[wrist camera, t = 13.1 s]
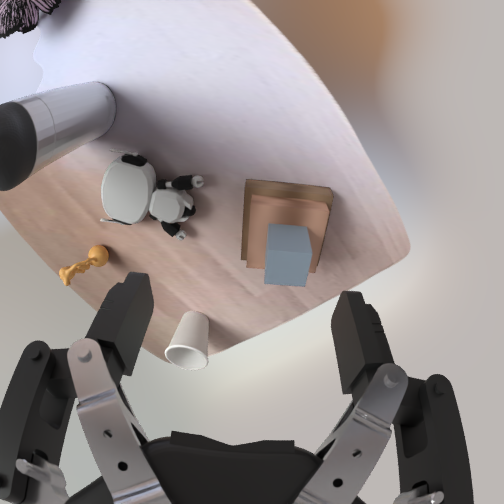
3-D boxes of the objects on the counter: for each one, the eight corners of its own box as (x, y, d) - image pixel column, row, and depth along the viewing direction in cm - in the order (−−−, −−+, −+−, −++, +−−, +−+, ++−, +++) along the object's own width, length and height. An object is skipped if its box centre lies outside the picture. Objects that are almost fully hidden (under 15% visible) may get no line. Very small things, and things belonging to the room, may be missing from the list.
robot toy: (210, 168, 40) (117, 140, 36) (206, 180, 36) (104, 149, 32) (188, 233, 46) (106, 208, 43) (183, 250, 43) (95, 222, 39)
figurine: (99, 265, 50) (71, 307, 41) (79, 244, 48) (47, 284, 38) (122, 247, 47) (93, 292, 38) (100, 223, 45) (66, 265, 35)
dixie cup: (210, 336, 60) (203, 374, 52) (174, 325, 59) (163, 363, 51) (219, 313, 56) (212, 354, 47) (179, 301, 54) (166, 341, 46)
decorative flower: (56, -22, 13) (-29, 47, 12) (85, 15, 24) (11, 66, 24) (57, -62, 9) (-19, -6, 8) (78, -29, 20) (11, 16, 20)
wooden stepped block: (242, 248, 46) (239, 272, 41) (246, 179, 39) (243, 196, 34) (315, 254, 46) (320, 278, 41) (329, 187, 39) (338, 205, 34)
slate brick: (265, 254, 39) (264, 283, 34) (268, 223, 36) (268, 250, 31) (300, 257, 39) (304, 286, 34) (306, 226, 36) (312, 253, 31)
